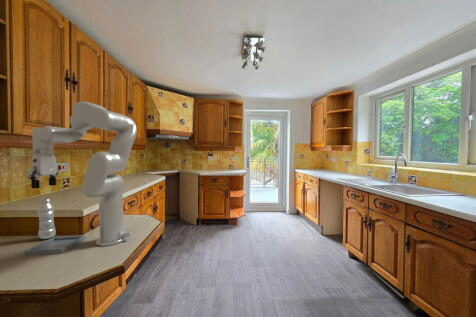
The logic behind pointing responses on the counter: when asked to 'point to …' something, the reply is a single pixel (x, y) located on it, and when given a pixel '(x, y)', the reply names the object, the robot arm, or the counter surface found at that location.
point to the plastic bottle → (46, 219)
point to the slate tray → (55, 245)
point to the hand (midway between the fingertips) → (44, 186)
